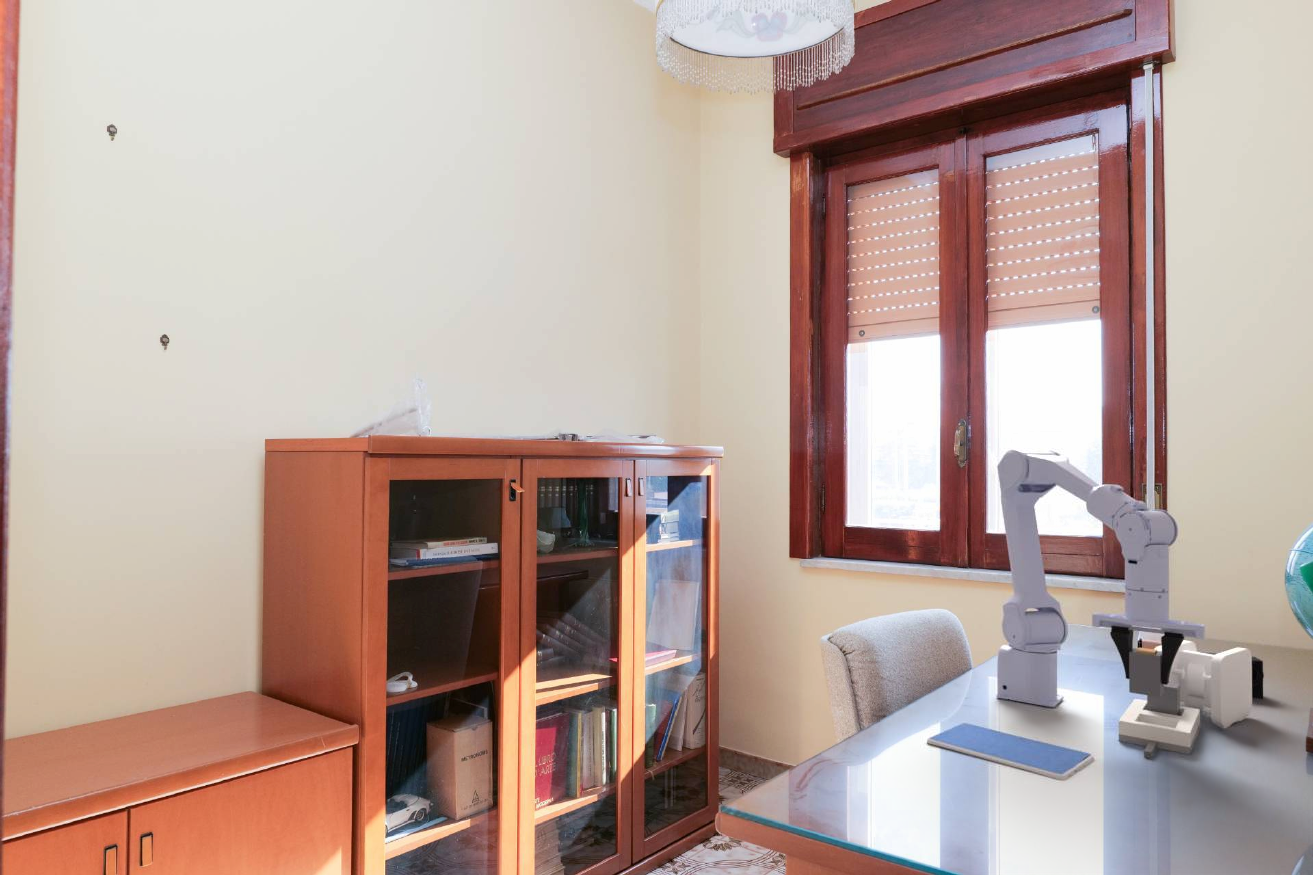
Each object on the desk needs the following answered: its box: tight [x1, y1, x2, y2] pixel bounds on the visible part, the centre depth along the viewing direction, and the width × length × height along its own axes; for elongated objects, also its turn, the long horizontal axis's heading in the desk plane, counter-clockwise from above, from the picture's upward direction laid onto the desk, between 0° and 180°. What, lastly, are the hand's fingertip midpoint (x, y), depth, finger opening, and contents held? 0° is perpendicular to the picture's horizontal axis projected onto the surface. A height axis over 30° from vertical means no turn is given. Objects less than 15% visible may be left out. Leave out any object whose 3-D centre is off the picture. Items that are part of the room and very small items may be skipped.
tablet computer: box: [926, 722, 1095, 781], centre depth 117 cm, size 19×13×1 cm, turn 44°
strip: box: [1118, 682, 1201, 760], centre depth 124 cm, size 22×9×7 cm, turn 142°
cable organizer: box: [1153, 639, 1253, 729], centre depth 137 cm, size 15×11×12 cm
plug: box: [1128, 647, 1164, 697], centre depth 124 cm, size 4×4×6 cm
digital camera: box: [1199, 651, 1265, 700], centre depth 152 cm, size 10×5×7 cm, turn 71°
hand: (1147, 680), depth 124 cm, fingers closed on plug, 4 cm apart
